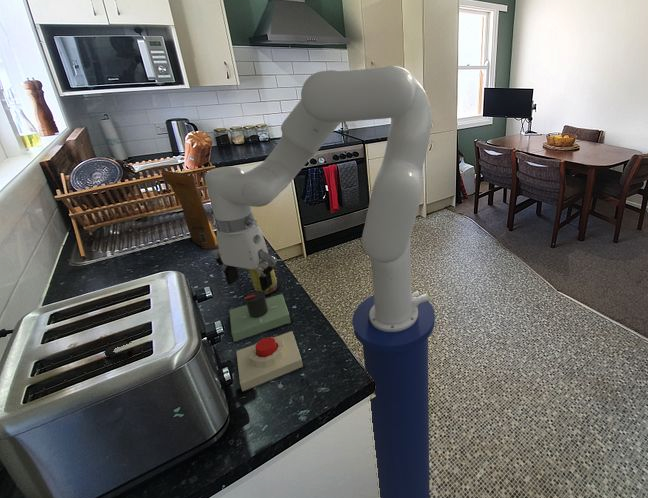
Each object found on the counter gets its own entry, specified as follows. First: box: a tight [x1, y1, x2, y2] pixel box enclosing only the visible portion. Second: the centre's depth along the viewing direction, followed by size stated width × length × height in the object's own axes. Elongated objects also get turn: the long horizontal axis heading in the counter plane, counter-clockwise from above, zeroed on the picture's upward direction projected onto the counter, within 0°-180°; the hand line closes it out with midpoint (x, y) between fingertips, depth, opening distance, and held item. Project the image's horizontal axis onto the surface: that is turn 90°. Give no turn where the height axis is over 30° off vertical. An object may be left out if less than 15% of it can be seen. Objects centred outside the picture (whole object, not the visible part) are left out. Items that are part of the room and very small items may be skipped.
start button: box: [255, 336, 277, 357], centre depth 75 cm, size 4×4×2 cm
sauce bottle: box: [247, 248, 278, 296], centre depth 97 cm, size 7×6×20 cm
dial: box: [244, 290, 268, 318], centre depth 87 cm, size 4×4×5 cm
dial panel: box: [228, 293, 291, 342], centre depth 89 cm, size 13×10×3 cm
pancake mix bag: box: [160, 169, 218, 250], centre depth 122 cm, size 7×19×28 cm, turn 55°
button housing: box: [235, 330, 304, 392], centre depth 76 cm, size 12×10×4 cm
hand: (250, 284), depth 85 cm, fingers open, 9 cm apart
